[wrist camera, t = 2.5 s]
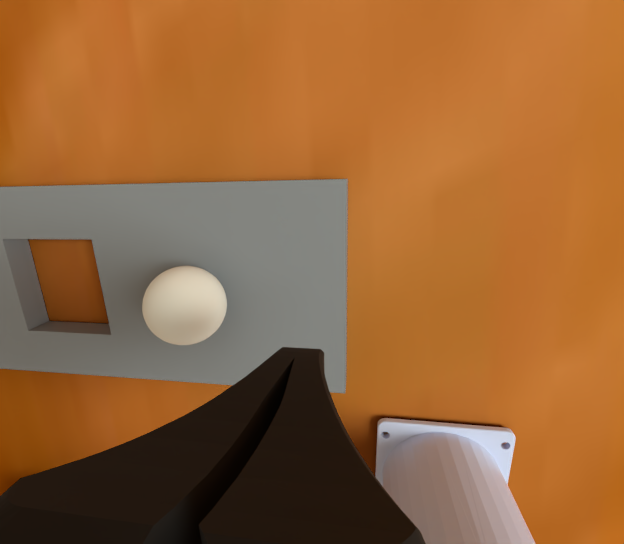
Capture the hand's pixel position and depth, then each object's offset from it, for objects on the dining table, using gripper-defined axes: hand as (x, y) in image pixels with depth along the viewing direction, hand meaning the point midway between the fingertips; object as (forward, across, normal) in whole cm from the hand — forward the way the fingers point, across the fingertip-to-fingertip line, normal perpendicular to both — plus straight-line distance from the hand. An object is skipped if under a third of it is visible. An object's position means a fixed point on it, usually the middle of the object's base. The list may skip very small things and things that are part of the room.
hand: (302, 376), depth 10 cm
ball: (+6, +7, 0) cm, 9 cm away
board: (+9, +12, 0) cm, 15 cm away
